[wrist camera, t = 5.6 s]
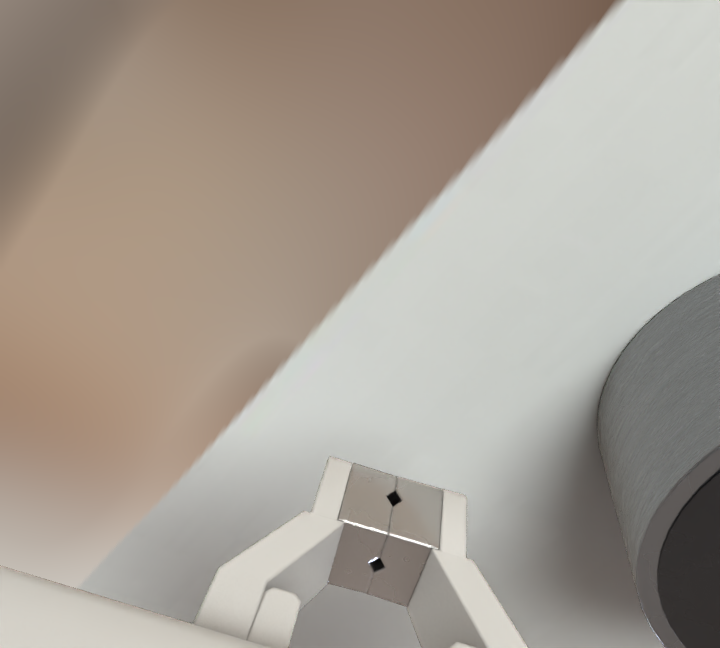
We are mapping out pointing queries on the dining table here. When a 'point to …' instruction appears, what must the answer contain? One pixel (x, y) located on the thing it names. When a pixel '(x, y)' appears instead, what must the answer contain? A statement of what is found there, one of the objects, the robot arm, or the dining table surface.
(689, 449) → the steel pot
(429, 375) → the dining table surface
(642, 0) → the dining table surface
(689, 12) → the dining table surface
